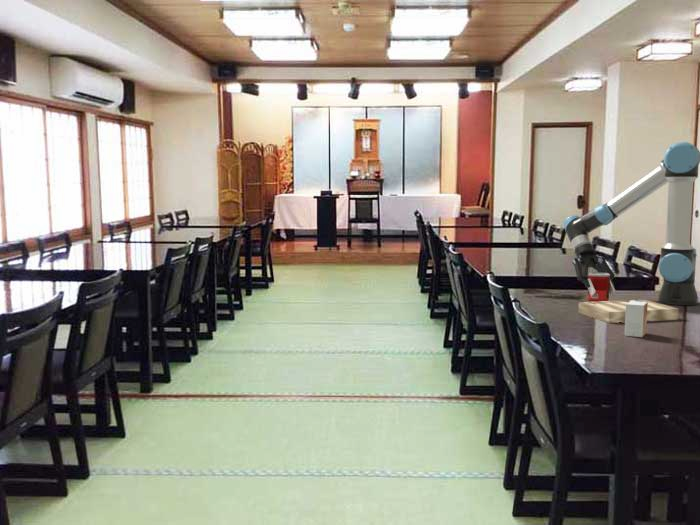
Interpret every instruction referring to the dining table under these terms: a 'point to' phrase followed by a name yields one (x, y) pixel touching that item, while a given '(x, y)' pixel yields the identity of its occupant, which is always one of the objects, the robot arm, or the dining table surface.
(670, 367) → the dining table surface
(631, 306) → the small box
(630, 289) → the dining table surface
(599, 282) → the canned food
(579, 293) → the dining table surface
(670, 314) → the maple plank
